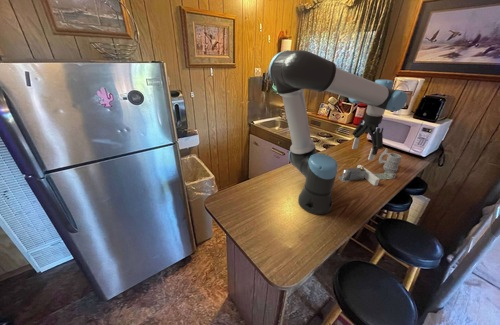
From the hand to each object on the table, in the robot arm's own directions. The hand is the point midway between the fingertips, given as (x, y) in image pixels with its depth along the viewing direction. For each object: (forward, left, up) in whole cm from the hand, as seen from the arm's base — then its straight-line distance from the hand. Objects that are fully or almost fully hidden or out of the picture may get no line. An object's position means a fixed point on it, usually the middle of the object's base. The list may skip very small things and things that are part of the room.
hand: (362, 153), depth 105 cm
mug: (+28, +9, -16) cm, 33 cm away
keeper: (+16, 0, -16) cm, 22 cm away
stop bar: (0, 0, -16) cm, 16 cm away
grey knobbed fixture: (-7, 0, -16) cm, 17 cm away
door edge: (+7, 0, -16) cm, 17 cm away
